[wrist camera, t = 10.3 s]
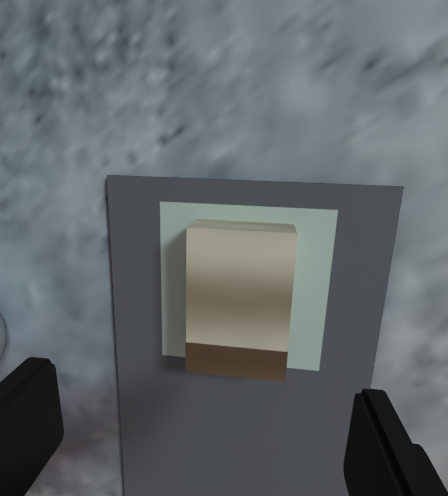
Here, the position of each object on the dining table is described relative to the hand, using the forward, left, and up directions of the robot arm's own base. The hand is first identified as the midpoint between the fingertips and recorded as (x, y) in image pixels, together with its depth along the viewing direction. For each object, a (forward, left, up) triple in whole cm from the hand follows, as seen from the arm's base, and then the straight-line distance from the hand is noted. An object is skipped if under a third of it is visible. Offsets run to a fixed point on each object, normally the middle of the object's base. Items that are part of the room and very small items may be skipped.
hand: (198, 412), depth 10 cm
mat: (0, -8, -13) cm, 15 cm away
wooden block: (0, -1, -12) cm, 12 cm away
